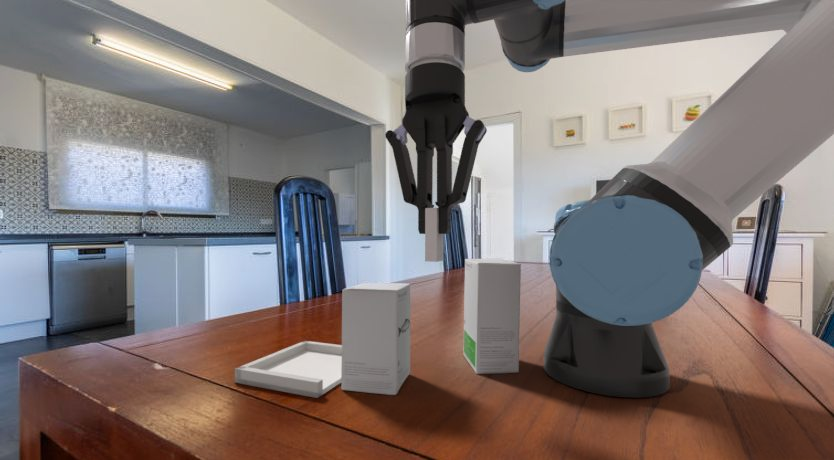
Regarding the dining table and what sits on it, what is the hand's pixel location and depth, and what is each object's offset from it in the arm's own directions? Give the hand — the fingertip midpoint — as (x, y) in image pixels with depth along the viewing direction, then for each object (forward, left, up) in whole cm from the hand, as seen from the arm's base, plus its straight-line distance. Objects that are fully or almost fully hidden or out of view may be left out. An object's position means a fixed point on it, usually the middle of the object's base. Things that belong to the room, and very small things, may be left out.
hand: (434, 260), depth 45 cm
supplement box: (+8, 0, -16) cm, 18 cm away
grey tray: (+19, 0, -16) cm, 25 cm away
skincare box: (-5, -12, -16) cm, 21 cm away
